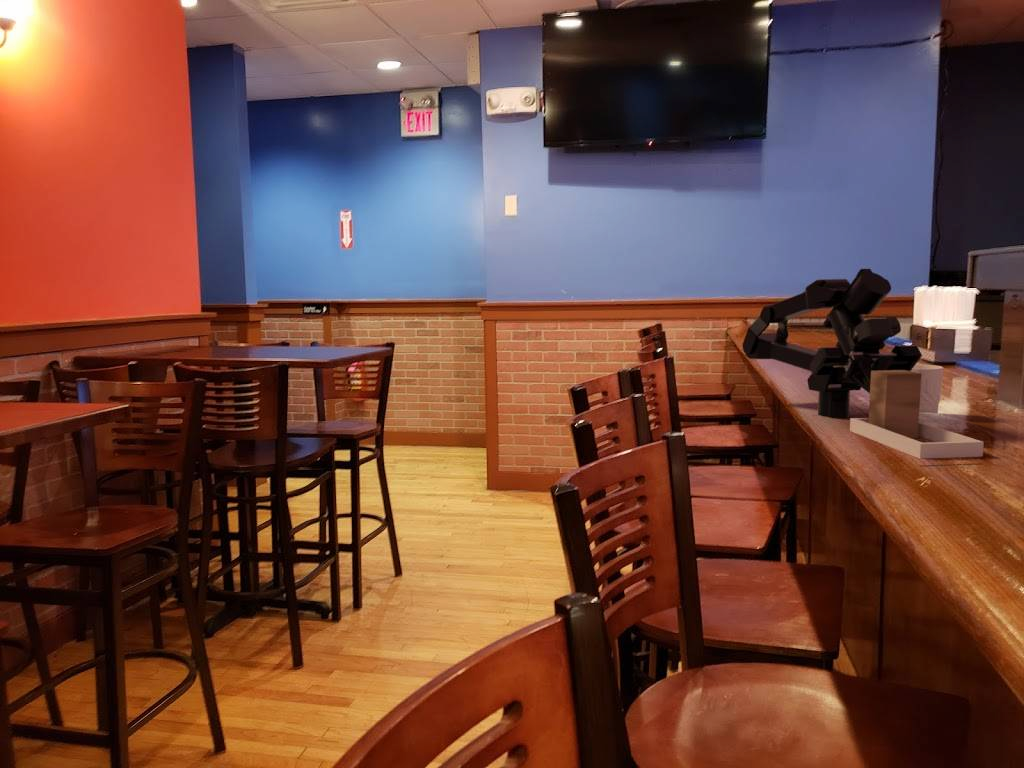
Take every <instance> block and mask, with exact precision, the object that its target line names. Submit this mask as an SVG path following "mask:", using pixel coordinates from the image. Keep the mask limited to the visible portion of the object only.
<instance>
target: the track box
mask: <svg viewBox="0 0 1024 768" xmlns="http://www.w3.org/2000/svg"><path fill="white" fill-rule="evenodd" d="M868 422H869V417H854V418H853V417H851V418H849V432H852V433H855V434H857V435H860V436H862V437H864V438H866V439H870V440H872V441H875V442H877V443H880V444H882V445H885V446H887V447H890V448H892V449H895V450H898V451H900V452H902V453H905V454H908V455H911V456H913V457H915V458H918V459H920V460H921V459H922V460H923V459H943V458H945V459H946V458H947V459H948V458H949V459H950V458H975V457H976V458H977V457H978V458H979V457H980V458H981V457H983V456H984V442H985V441H982V440H979V439H975V438H972V437H969V436H966V435H963V434H960V433H958V432H957V433H956V432H953V431H950V430H947V429H943V428H941V427H938V426H934V425H932V424H929V423H925V422H922V421H919V424H918V437H920V438H924V439H926V440H930V441H932V442H922V441H919V440H916V439H915V438H908V437H905V436H903V435H900V434H897V433H894V432H892V431H889V430H886V429H883V428H880V427H878V426H875V425H872V424H869V423H868ZM972 465H973V466H974V465H975V466H977V465H983V463H979V462H978V463H959V464H958V463H957V464H956V463H954V464H953V463H952V464H928V465H926V464H925V465H920V466H921V467H945V466H947V467H948V466H950V467H951V466H972ZM921 467H920V468H921Z"/></svg>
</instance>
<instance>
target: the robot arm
mask: <svg viewBox="0 0 1024 768" xmlns="http://www.w3.org/2000/svg"><path fill="white" fill-rule="evenodd" d="M891 290H892V286H891V283H890V281H889V280H888V279H887V278H885V277H883V276H882V275H880V274H878V273H875V272H873V270H872V269H871V268H860V269H859V270H858V272H857V274H856V276H855V277H854V279H853V280H852V282H851V283H850V281H848V279H846V278H832V279H831V278H828V279H827V278H826V279H825V278H824V279H821V278H820V279H816V280H814V281H813V282H811V283H810V284H809V285H807V286H806V287H805V289H804V291H803V292H801V293H798V294H796V295H793V296H790V297H788V298H786V299H783V300H781V301H778V302H775V303H772V304H767V305H764V306H763V307H762V309H761V312H760V314H759V316H758V317H757V318H756V319H755V320H754V321H753V322H752V324H751V325H749V327H748V328H747V331H746V334H745V336H744V339H743V342H742V351H743V353H744V354H745V356H746V358H748V359H750V360H773V361H778V362H780V363H783V364H787V365H790V366H793V367H796V368H799V369H802V370H804V371H805V370H806V371H808V372H811V374H810V375H809V377H808V378H807V380H806V381H807V385H808V390H809V391H814V392H818V400H817V401H818V402H817V403H818V404H817V416H821V417H823V418H824V417H825V418H830V419H847V418H848V417H849V416H850V401H851V391H861V389H863V390H864V391H866V392H868V394H870V383H871V371H881V370H907V371H911V370H912V368H913V367H914V366H915V364H917V363H918V362H919V361H920V359H921V358H922V356H923V355H922V353H921V350H920V348H919V347H918V346H917V345H914V344H911V345H909V344H908V345H905V344H904V345H894V347H893V348H892V350H891V351H890V352H880V350H883V349H884V348H885V346H886V344H885V341H887V340H888V339H890V338H893V337H896V335H898V334H899V333H901V331H902V328H901V327H902V325H901V322H900V321H899V320H898V318H897V317H896V316H887V317H886V318H885V317H883V318H868V319H865V317H864V316H863V315H865V316H866V315H867V316H869V315H871V314H873V313H874V312H875V311H876V309H877V308H878V307H879V306H880V305H881V303H882V302H883V301H884V299H885V298H886V297H887V295H888V296H889V293H890V292H891ZM818 310H820V311H821V310H830V311H829V313H828V314H827V315H826V318H825V320H824V321H823V324H822V326H823V328H824V329H832V330H833V331H834V335H835V336H836V338H837V339H836V340H837V342H836V343H835V346H830V347H826V346H825V347H823V346H822V347H820V348H819V347H818V348H817V350H815V349H812V348H809V347H804V346H801V345H797V344H794V343H791V342H788V337H789V331H788V326H787V325H788V322H789V321H790V320H792V319H795V318H797V317H801V316H804V315H807V314H810V313H813V312H815V311H818ZM770 324H777V326H778V328H777V330H776V332H764V331H766V329H767V328H768V327H769V326H770ZM812 416H813V417H814V414H812Z"/></svg>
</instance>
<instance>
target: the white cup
mask: <svg viewBox="0 0 1024 768" xmlns="http://www.w3.org/2000/svg"><path fill="white" fill-rule="evenodd" d="M911 371H912V372H916V373H921V374H922V375H921V391H920V407H919V413H935V414H938V413H939V404H940V402H941V401H940V400H941V393H942V387H943V378H944V377H943V376H944V367H943V366H940V365H934V364H921V363H920V364H919V363H918V364H917V363H916V364H915V366H914V367H913V368H912V370H911Z"/></svg>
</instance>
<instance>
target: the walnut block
mask: <svg viewBox="0 0 1024 768" xmlns="http://www.w3.org/2000/svg"><path fill="white" fill-rule="evenodd" d="M921 375H922V374H921V373H916V372H912V371H907V370H881V371H871V383H870V393H869V407H868V418H869V422H868V423H869V424H872V425H875V426H878V427H880V428H883V429H886V430H889V431H892V432H894V433H897V434H900V435H903V436H905V437H908V438H911V439H918V437H919V436H918V424H919V422H920V421H919V420H920V412H919V407H920V391H921Z"/></svg>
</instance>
